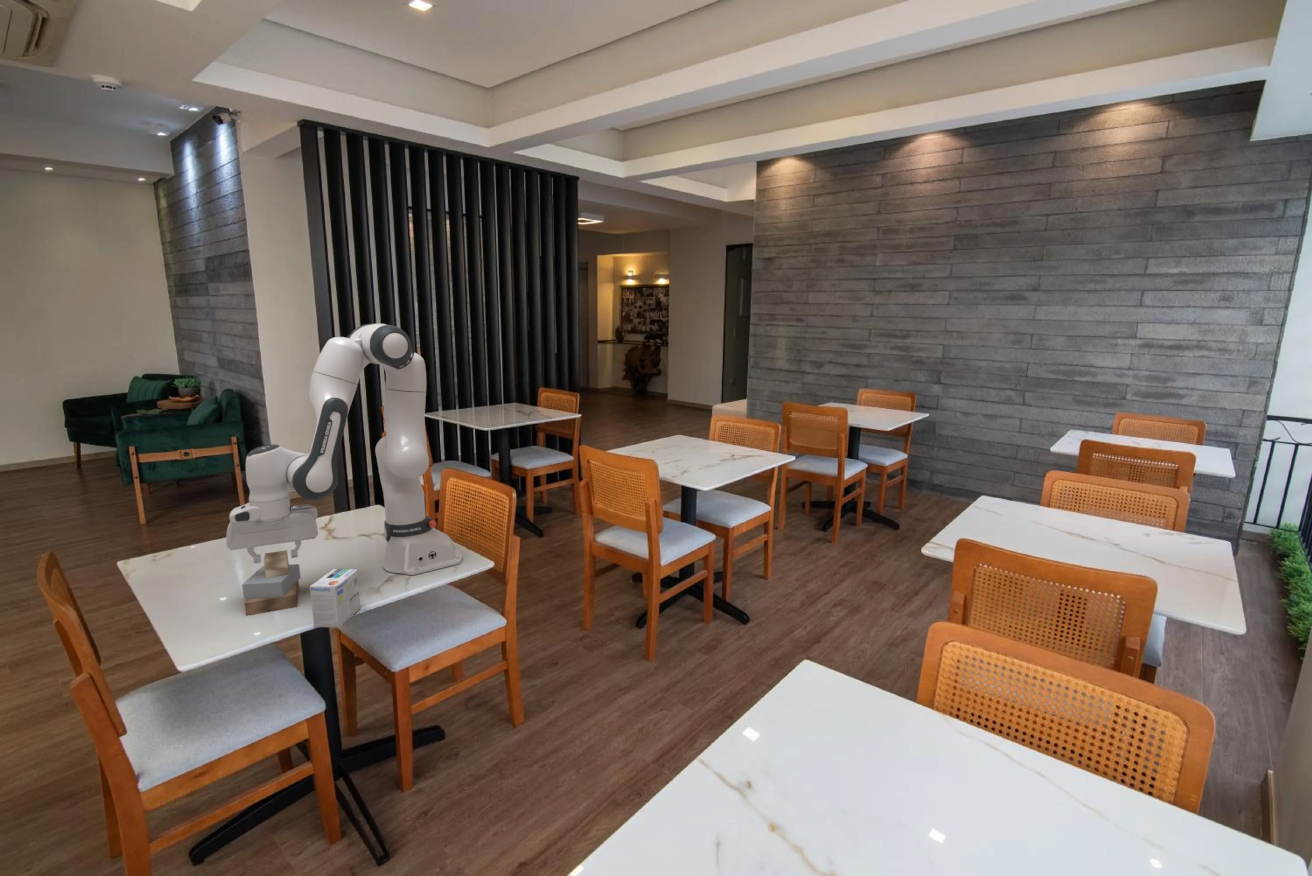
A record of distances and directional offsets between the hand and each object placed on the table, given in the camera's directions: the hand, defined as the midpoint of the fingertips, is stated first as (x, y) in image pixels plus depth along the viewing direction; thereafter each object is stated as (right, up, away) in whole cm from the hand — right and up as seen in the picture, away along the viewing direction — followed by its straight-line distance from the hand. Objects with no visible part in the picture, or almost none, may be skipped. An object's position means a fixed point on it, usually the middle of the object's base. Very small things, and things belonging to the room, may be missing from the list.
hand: (276, 559), depth 163 cm
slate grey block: (-1, -8, +1) cm, 8 cm away
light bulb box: (+20, -13, -7) cm, 25 cm away
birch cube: (0, -4, +1) cm, 4 cm away
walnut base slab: (-1, -12, +2) cm, 12 cm away
